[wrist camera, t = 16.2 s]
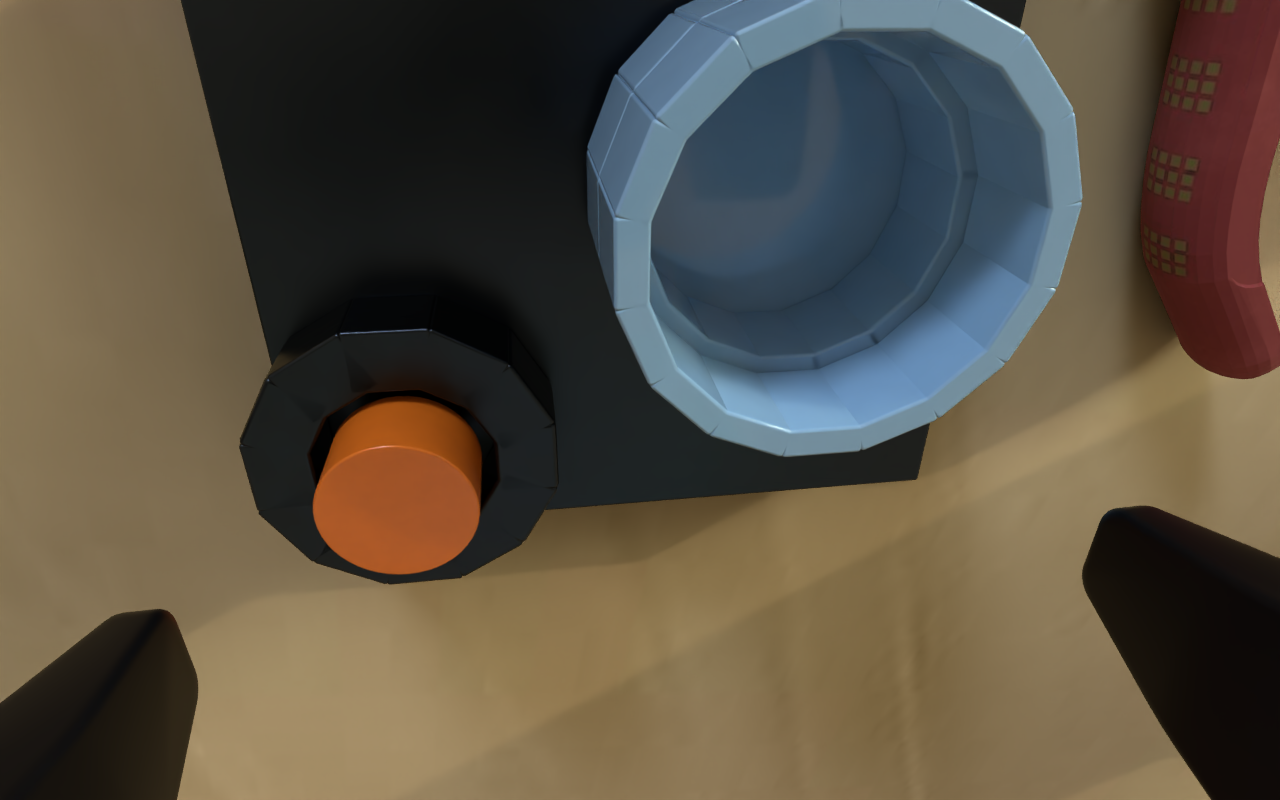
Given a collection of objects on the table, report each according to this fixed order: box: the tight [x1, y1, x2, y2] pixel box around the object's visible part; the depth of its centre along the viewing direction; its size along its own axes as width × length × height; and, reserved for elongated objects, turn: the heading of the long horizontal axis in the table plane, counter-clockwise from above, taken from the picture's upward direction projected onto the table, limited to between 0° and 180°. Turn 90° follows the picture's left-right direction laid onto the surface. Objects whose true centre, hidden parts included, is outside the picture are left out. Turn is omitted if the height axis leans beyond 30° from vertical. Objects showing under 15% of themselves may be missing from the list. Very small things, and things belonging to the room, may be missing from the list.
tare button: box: [313, 396, 482, 575], centre depth 14 cm, size 3×3×2 cm
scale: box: [181, 0, 1026, 584], centre depth 15 cm, size 14×12×4 cm
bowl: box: [586, 0, 1083, 457], centre depth 13 cm, size 7×7×4 cm
